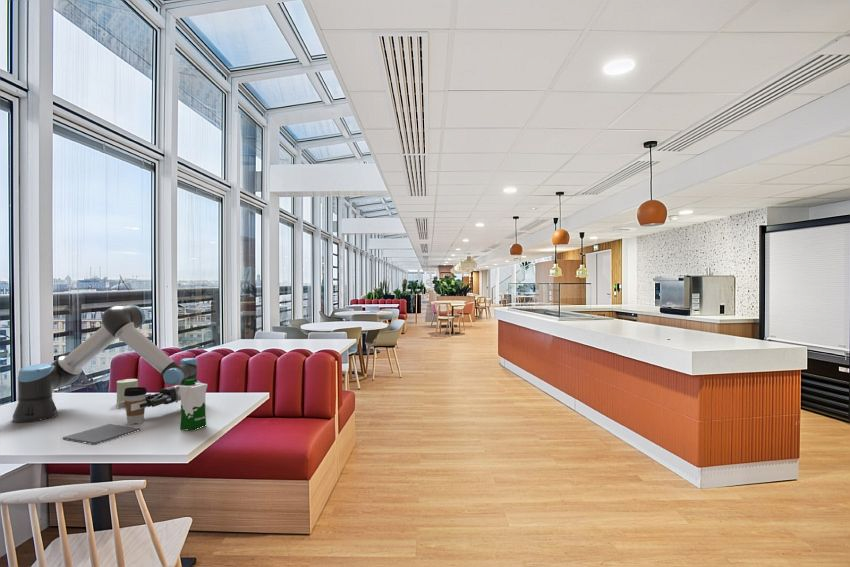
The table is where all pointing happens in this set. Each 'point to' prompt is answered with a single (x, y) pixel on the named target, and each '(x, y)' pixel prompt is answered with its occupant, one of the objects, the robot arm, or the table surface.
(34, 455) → the table surface
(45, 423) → the table surface
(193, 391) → the milk carton
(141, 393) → the coffee cup
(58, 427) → the table surface
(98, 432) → the mat
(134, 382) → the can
